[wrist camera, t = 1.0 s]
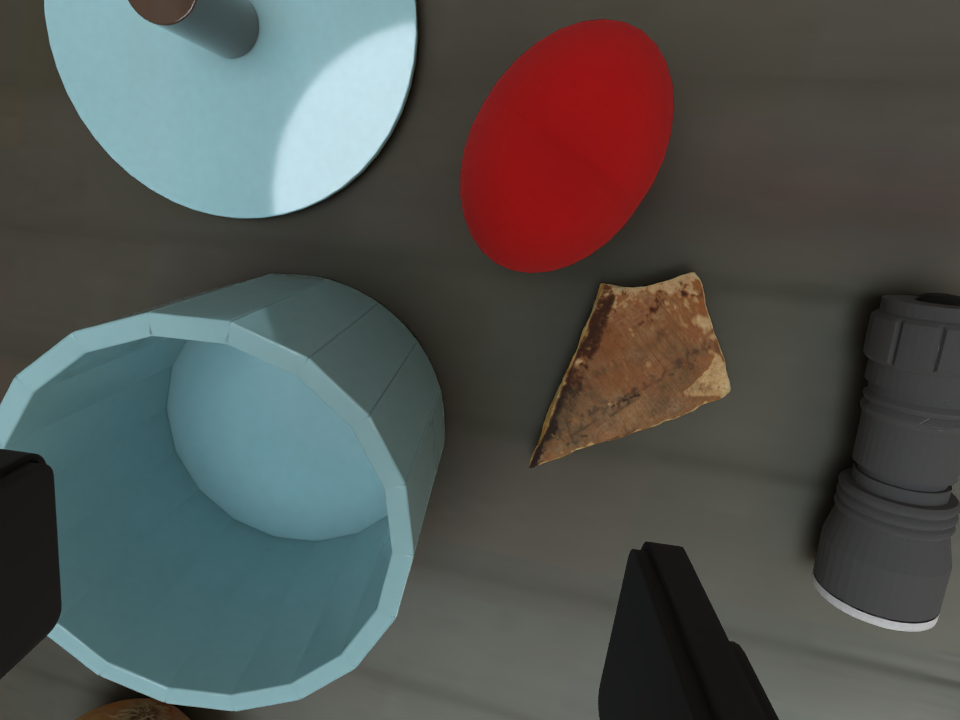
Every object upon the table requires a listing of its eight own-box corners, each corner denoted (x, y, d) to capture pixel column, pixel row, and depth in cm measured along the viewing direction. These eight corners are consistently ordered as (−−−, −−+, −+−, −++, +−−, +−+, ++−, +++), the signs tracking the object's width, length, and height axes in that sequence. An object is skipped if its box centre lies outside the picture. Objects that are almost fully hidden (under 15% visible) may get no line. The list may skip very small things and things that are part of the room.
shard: (528, 457, 33) (529, 471, 31) (475, 327, 31) (473, 335, 29) (726, 389, 31) (739, 400, 30) (683, 248, 30) (693, 251, 28)
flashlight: (850, 283, 30) (922, 300, 24) (963, 289, 29) (1061, 308, 24) (793, 561, 34) (846, 627, 28) (893, 568, 33) (965, 636, 28)
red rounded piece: (557, 286, 30) (579, 326, 21) (437, 209, 30) (403, 214, 20) (670, 116, 28) (754, 73, 18) (543, 29, 27) (562, -64, 18)
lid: (398, -210, 25) (361, -347, 19) (436, 204, 30) (416, 205, 23) (18, -162, 27) (-137, -277, 20) (107, 230, 31) (1, 238, 24)
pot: (430, 260, 30) (383, 296, 19) (457, 543, 34) (432, 707, 23) (130, 282, 31) (-79, 328, 20) (190, 554, 35) (43, 717, 24)
